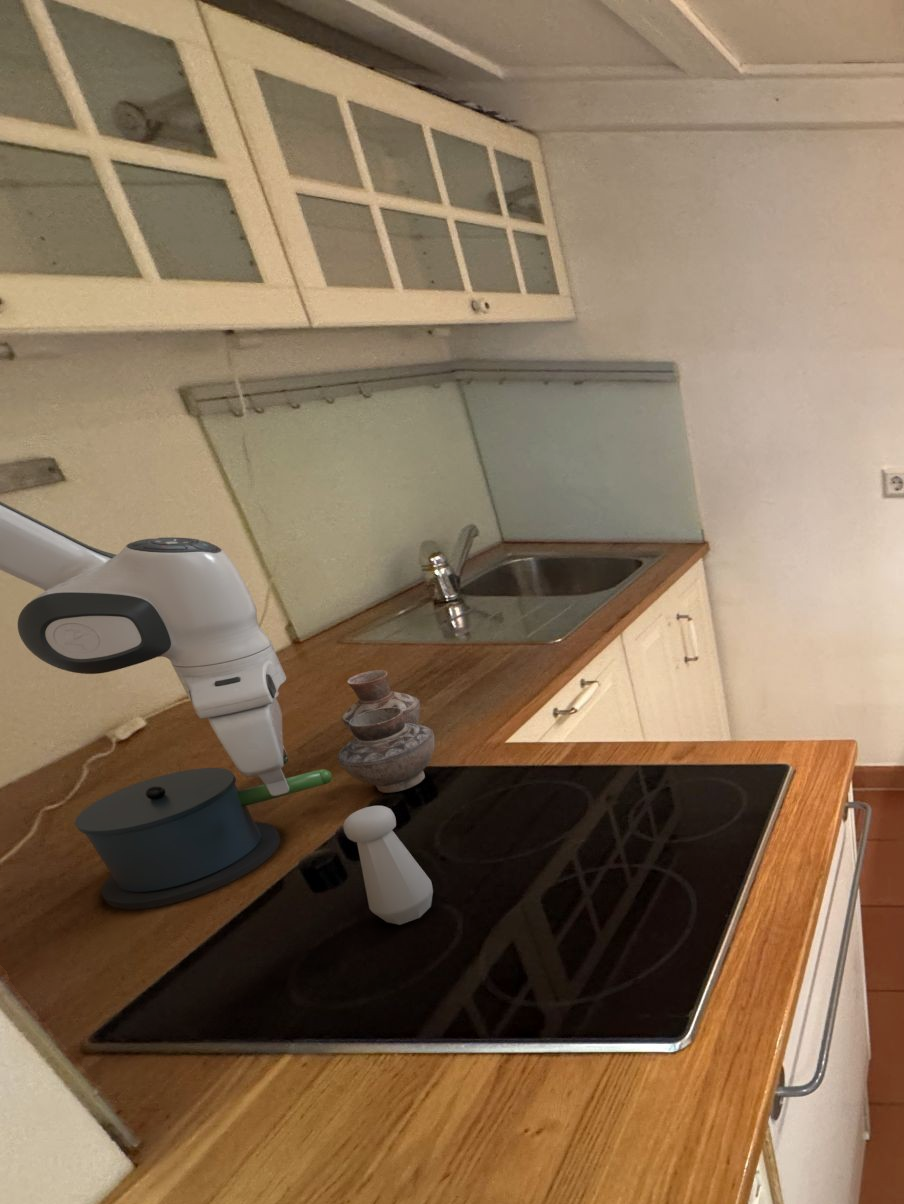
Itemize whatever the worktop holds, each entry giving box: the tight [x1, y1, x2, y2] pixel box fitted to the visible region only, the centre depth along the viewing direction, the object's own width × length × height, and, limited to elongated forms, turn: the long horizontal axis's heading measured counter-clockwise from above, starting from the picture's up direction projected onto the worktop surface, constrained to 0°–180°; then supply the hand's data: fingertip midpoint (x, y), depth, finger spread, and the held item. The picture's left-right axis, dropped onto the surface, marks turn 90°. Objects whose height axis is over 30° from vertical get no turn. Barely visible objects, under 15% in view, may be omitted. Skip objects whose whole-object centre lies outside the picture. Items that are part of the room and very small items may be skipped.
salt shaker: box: [342, 805, 434, 926], centre depth 82 cm, size 6×6×13 cm
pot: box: [74, 767, 333, 892], centre depth 93 cm, size 22×14×10 cm, turn 127°
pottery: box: [336, 669, 436, 794], centre depth 112 cm, size 11×25×12 cm, turn 38°
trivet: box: [100, 821, 281, 911], centre depth 93 cm, size 16×16×1 cm
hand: (280, 777), depth 96 cm, fingers open, 8 cm apart
